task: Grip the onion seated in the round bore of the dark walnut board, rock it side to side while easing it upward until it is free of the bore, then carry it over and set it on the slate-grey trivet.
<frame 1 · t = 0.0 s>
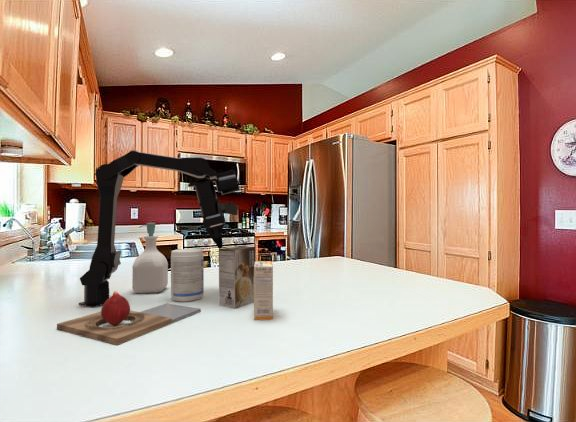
hand: (220, 246, 101), 15 cm above the counter, tool pointing down, fingers open, 9 cm apart
coffee box: (237, 304, 92), on the counter
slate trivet: (166, 315, 81), on the counter
walnut bore board: (115, 326, 73), on the counter
supplement tub: (187, 298, 98), on the counter
supplement box: (263, 315, 82), on the counter
soap bottle: (150, 291, 108), on the counter
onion: (115, 327, 73), resting in walnut bore board
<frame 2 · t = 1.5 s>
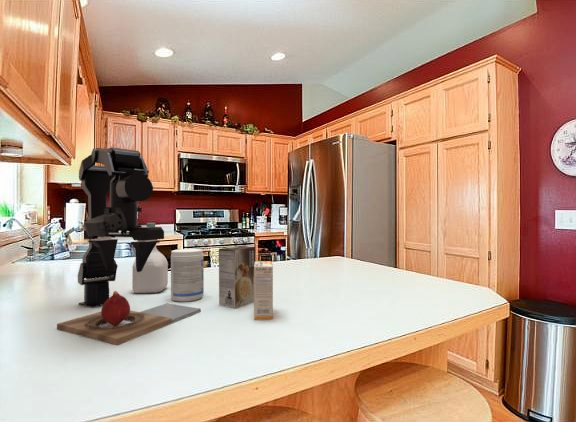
hand: (123, 270, 74), 13 cm above the counter, tool pointing down, fingers open, 9 cm apart
nothing on the counter moved.
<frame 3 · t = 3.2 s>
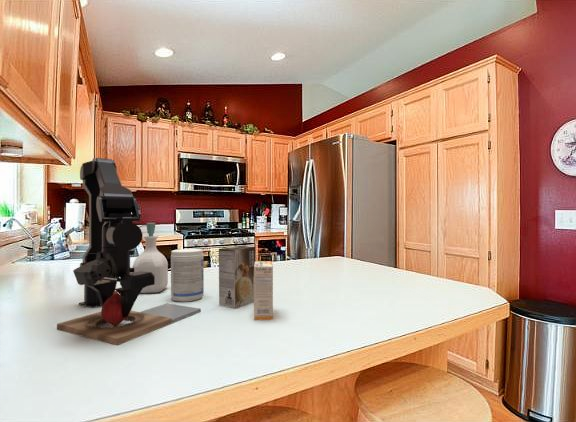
hand: (115, 315, 73), 3 cm above the counter, tool pointing down, fingers closed on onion, 6 cm apart
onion: (115, 327, 73), resting in walnut bore board, touching gripper
everything else where it was.
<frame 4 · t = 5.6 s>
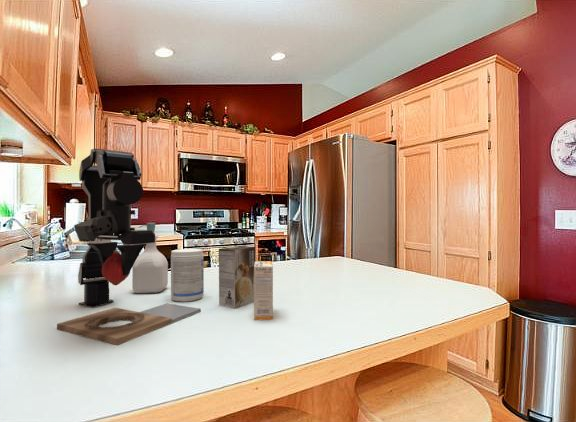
hand: (116, 274, 73), 12 cm above the counter, tool pointing down, fingers closed on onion, 6 cm apart
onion: (116, 286, 73), point 9 cm above the counter, touching gripper
everything else where it was.
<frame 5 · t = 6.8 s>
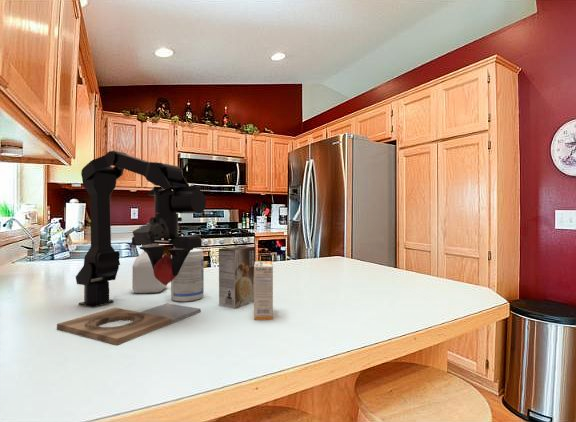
hand: (165, 274, 82), 10 cm above the counter, tool pointing down, fingers closed on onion, 6 cm apart
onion: (165, 285, 82), point 7 cm above the counter, touching gripper
everything else where it was.
when the fingers open (4 cm above the counter, at t = 8.0 s): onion drops 1 cm, resting on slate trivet.
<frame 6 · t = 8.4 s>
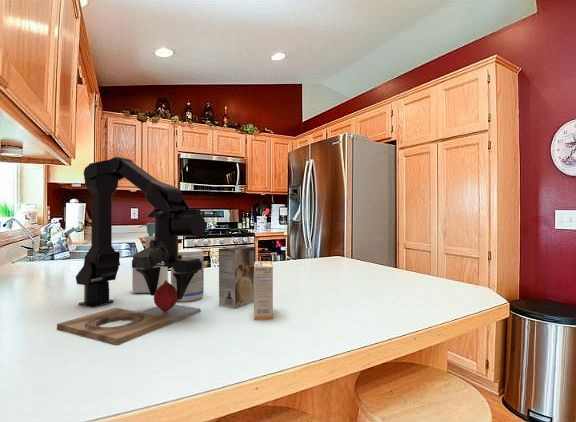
hand: (166, 297, 81), 4 cm above the counter, tool pointing down, fingers open, 9 cm apart
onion: (165, 312, 81), point 1 cm above the counter, touching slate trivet
everything else where it was.
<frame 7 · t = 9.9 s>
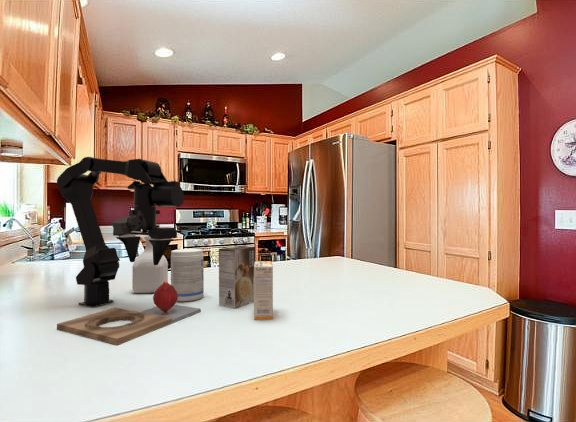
hand: (143, 263, 87), 12 cm above the counter, tool pointing down, fingers open, 9 cm apart
nothing on the counter moved.
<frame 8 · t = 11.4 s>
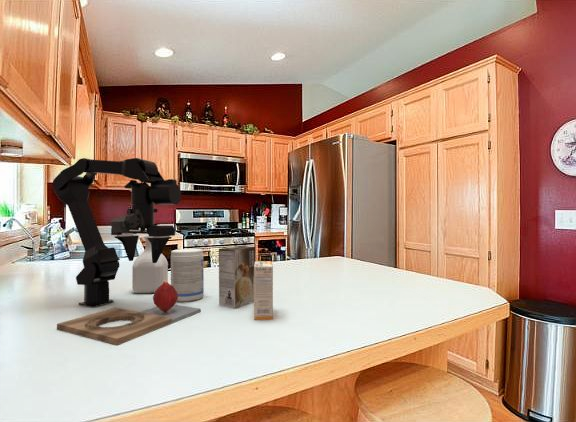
hand: (142, 261, 88), 13 cm above the counter, tool pointing down, fingers open, 9 cm apart
nothing on the counter moved.
at the end: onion 0.1 cm from the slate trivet (horizontally); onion point 0.6 cm above the counter; the gripper is holding nothing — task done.
